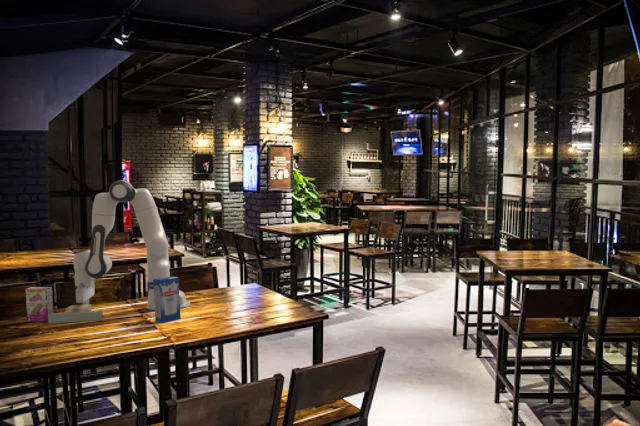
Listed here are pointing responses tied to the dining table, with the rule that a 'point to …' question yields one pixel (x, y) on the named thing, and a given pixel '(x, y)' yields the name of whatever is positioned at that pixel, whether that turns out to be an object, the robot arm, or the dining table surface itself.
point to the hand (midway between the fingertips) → (86, 307)
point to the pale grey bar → (75, 316)
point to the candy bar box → (39, 303)
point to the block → (78, 308)
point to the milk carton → (166, 299)
